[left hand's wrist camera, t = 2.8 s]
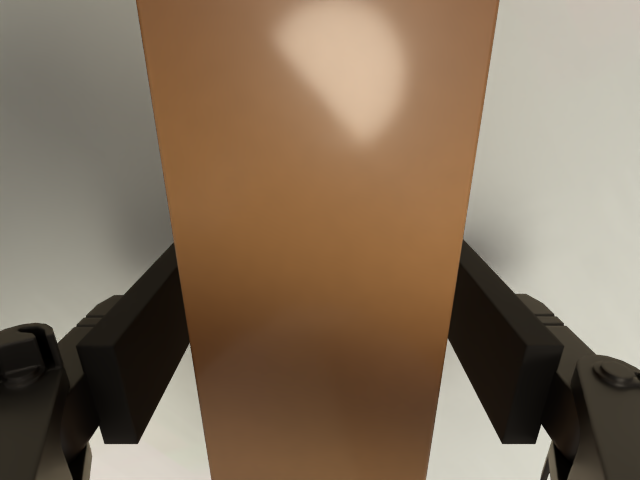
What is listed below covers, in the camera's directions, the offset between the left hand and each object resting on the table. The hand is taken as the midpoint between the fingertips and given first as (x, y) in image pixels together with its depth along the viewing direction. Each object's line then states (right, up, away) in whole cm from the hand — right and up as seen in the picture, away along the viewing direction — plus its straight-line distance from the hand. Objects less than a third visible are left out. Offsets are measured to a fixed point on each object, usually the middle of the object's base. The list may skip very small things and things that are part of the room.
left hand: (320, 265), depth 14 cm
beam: (0, +19, -6) cm, 20 cm away
